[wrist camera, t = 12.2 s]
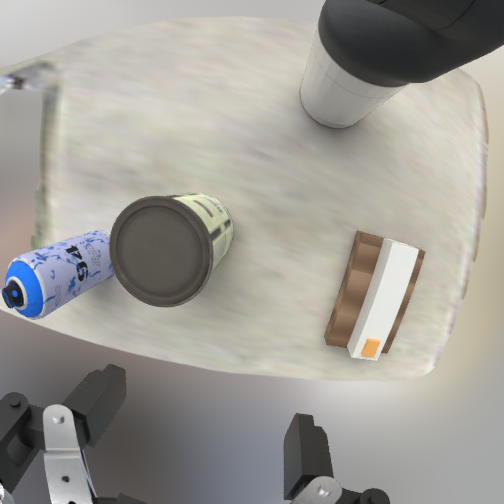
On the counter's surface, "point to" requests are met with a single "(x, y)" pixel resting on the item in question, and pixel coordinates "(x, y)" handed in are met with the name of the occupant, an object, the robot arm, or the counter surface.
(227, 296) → the counter surface
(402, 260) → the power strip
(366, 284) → the mounting board
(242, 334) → the counter surface
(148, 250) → the coffee can
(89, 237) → the aerosol can
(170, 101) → the counter surface
